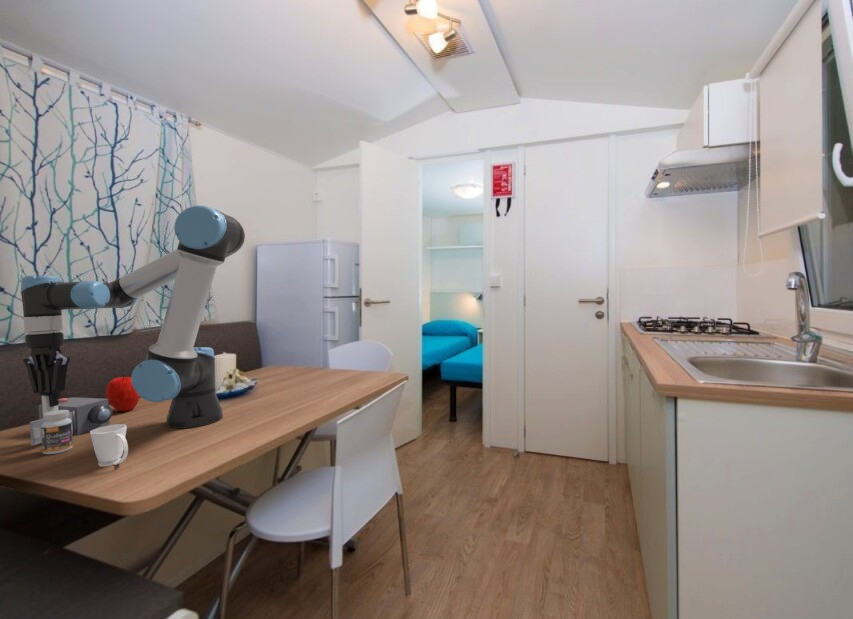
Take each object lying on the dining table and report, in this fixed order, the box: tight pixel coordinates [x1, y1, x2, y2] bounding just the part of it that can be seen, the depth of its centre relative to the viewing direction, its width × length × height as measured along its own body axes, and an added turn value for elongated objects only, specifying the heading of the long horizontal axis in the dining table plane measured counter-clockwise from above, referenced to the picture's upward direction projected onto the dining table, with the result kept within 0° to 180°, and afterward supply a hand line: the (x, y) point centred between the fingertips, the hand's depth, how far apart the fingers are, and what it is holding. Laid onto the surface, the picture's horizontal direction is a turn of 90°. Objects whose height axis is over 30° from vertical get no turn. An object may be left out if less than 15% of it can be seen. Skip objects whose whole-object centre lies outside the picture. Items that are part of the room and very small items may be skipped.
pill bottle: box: [41, 410, 74, 455], centre depth 100 cm, size 6×6×10 cm
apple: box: [105, 375, 141, 412], centre depth 135 cm, size 10×10×12 cm
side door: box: [29, 410, 76, 446], centre depth 106 cm, size 10×2×6 cm, turn 167°
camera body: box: [38, 396, 113, 436], centre depth 117 cm, size 17×9×9 cm, turn 78°
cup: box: [89, 423, 129, 467], centre depth 91 cm, size 7×10×8 cm
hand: (51, 417), depth 108 cm, fingers closed
